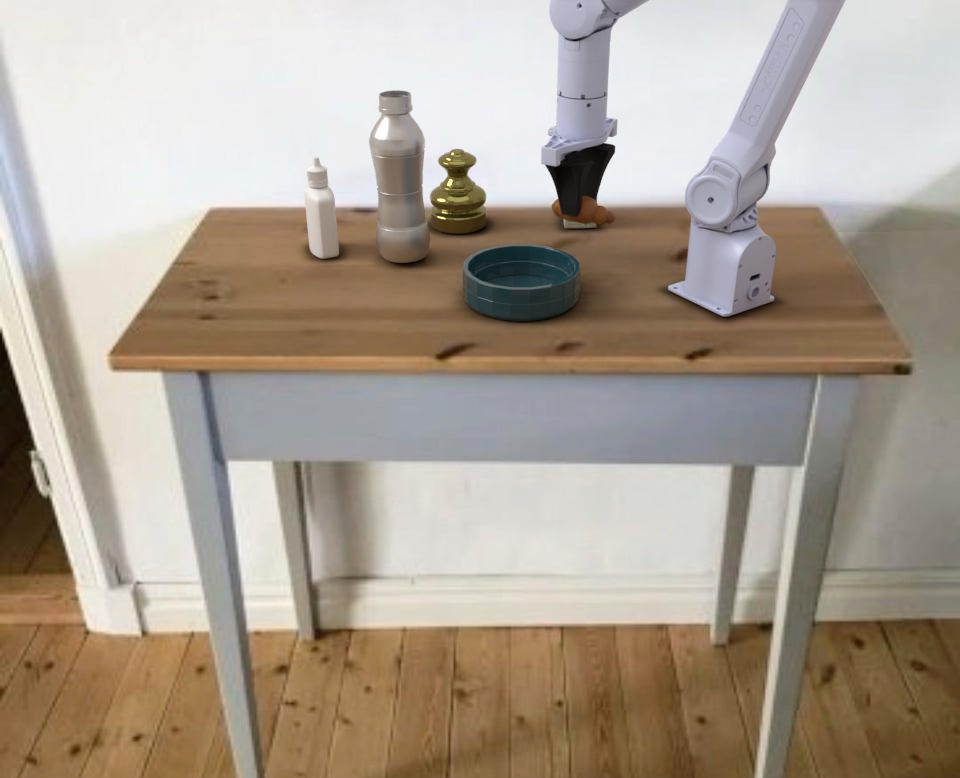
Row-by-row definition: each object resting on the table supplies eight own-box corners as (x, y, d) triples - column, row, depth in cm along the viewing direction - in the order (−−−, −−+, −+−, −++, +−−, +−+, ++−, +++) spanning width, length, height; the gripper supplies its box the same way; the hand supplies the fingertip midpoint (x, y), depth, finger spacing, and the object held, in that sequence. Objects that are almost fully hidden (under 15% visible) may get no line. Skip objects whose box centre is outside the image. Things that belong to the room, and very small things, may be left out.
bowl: (602, 304, 121) (604, 271, 119) (506, 333, 115) (507, 299, 113) (533, 267, 130) (533, 236, 128) (441, 292, 124) (440, 260, 122)
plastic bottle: (424, 270, 130) (416, 102, 119) (370, 267, 131) (358, 100, 120) (436, 251, 135) (430, 88, 124) (385, 247, 136) (374, 86, 125)
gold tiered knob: (491, 232, 140) (491, 157, 135) (435, 237, 139) (433, 161, 134) (480, 213, 146) (479, 140, 141) (426, 218, 145) (424, 144, 140)
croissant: (602, 232, 126) (603, 205, 124) (540, 218, 130) (540, 193, 128) (616, 222, 128) (618, 196, 126) (555, 210, 132) (556, 184, 130)
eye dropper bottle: (346, 243, 138) (338, 150, 131) (336, 260, 133) (328, 165, 126) (312, 242, 138) (303, 150, 131) (302, 259, 133) (292, 164, 127)
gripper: (582, 75, 128) (578, 187, 135) (518, 102, 117) (517, 221, 125) (635, 83, 124) (628, 197, 132) (574, 111, 114) (570, 233, 122)
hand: (577, 209), depth 128 cm, fingers closed on croissant, 3 cm apart
